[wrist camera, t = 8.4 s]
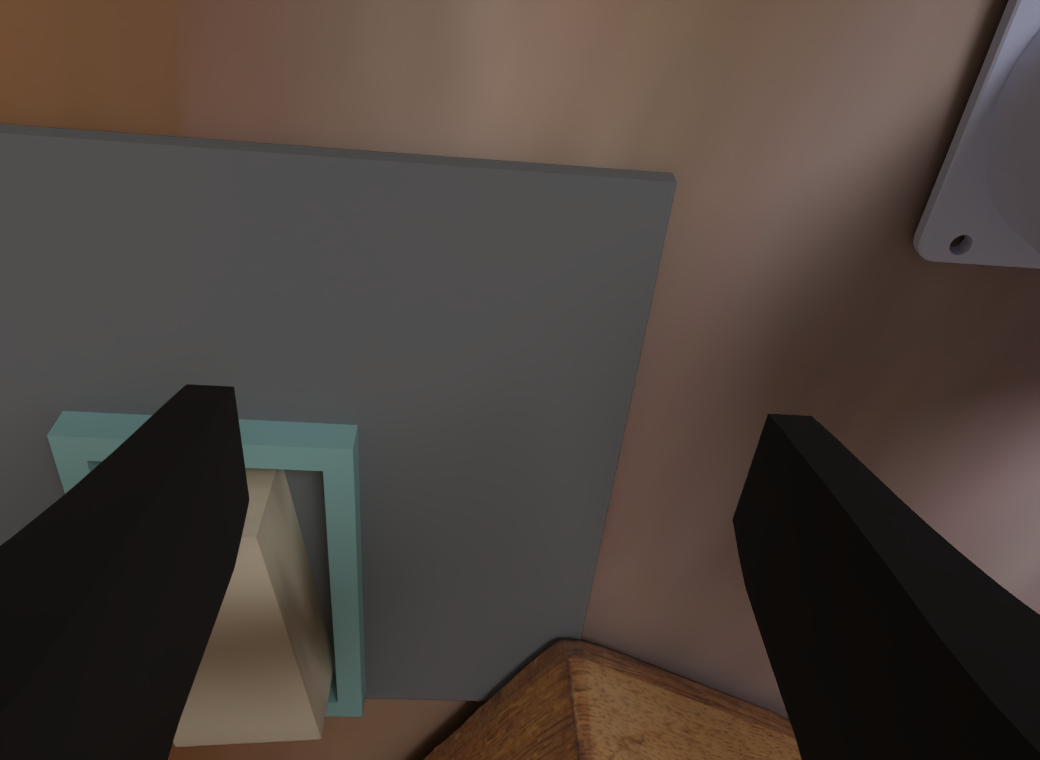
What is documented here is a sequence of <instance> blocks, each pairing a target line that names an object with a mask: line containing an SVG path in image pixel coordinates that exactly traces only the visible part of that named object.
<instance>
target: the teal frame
mask: <svg viewBox="0 0 1040 760" xmlns="http://www.w3.org/2000/svg"><path fill="white" fill-rule="evenodd" d="M151 416H152V415H139V414H118V413H97V412H76V411H62V413H61V415H60V416H59V418H58V419H57V421H56V422H55V424H54V425H53V427H52V429H51V430H50V432H49V433H48V435H47V438H48V441H49V444H50V447H51V450H52V454H53V457H54V460H55V463H56V466H57V470H58V473H59V476H60V479H61V482H62V486H63V489H64V492H65V494H66V493H67V492H68V491H69V490H70V489H71V488H73V487H74V486H75V485H76V484H77V483H78V482H79V481H81V480H82V479H83V478H84V477H85V476H86V475H87V474H88V473H90V472H91V471H92V470H93V469H94V468H95V467H96V466H98V465H99V464H100V463H101V462H102V461H103V460H104V459H105V458H107V457H108V456H109V455H110V454H111V453H112V452H113V451H114V450H116V449H117V448H118V447H119V446H120V445H121V444H122V443H123V442H124V441H125V440H126V439H127V438H129V437H130V436H131V435H132V434H133V433H134V432H135V431H136V430H137V429H138V428H139V427H140V426H141V425H143V424H144V423H145V422H146V421H147V420H148V419H149V418H150V417H151ZM239 426H240V433H241V441H242V448H243V455H244V463H245V468H261V469H284V470H307V471H323V479H324V494H325V510H326V526H327V541H328V557H329V572H330V588H331V604H332V619H333V635H334V651H335V666H336V677H332V679H331V685H330V691H329V697H328V703H327V709H326V715H325V716H343V717H362V716H363V708H364V700H365V693H366V684H365V650H364V617H363V584H362V551H361V518H360V485H359V452H358V425H347V424H326V423H305V422H284V421H263V420H243V419H239Z"/></svg>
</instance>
